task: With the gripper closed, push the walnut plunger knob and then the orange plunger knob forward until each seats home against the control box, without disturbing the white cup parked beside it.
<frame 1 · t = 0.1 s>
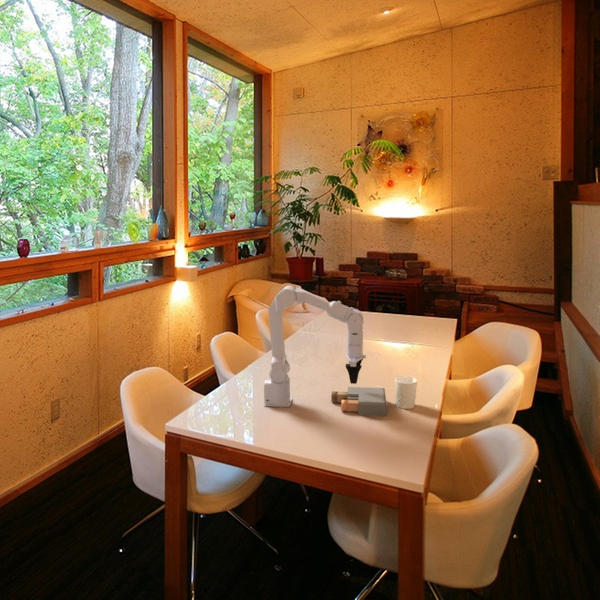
hand: (354, 379, 189), 10 cm above the table, fingers open, 7 cm apart
white cup: (405, 406, 190), on the table
orange knob: (357, 405, 185), point 2 cm above the table, slide at 0.0 cm
walnut knob: (346, 397, 193), point 2 cm above the table, slide at 0.0 cm
control box: (350, 406, 189), on the table
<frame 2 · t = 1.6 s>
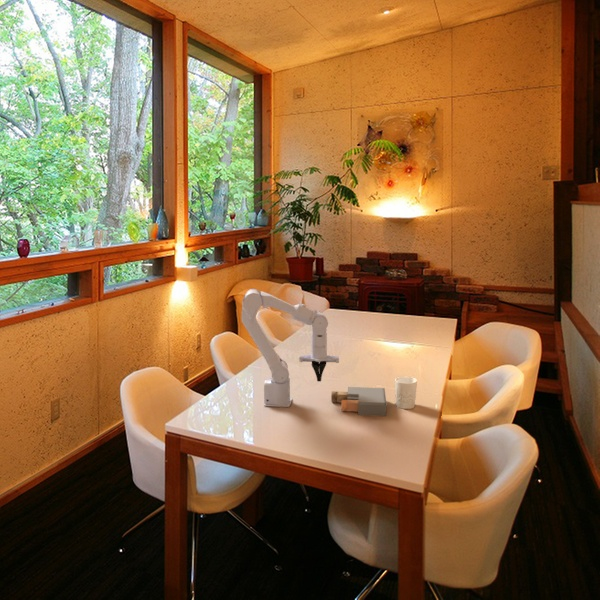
hand: (319, 380, 193), 8 cm above the table, fingers closed
nothing on the table moved.
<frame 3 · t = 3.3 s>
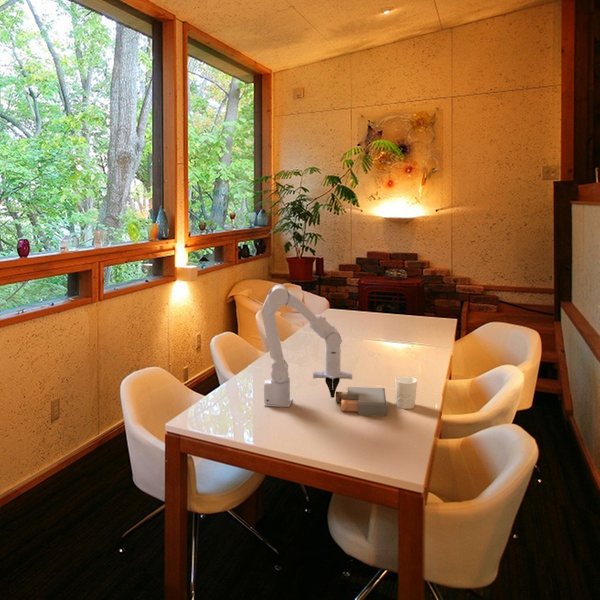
hand: (332, 396, 194), 2 cm above the table, fingers closed
walnut knob: (350, 397, 193), point 2 cm above the table, slide at 1.6 cm, touching gripper
everything else where it was.
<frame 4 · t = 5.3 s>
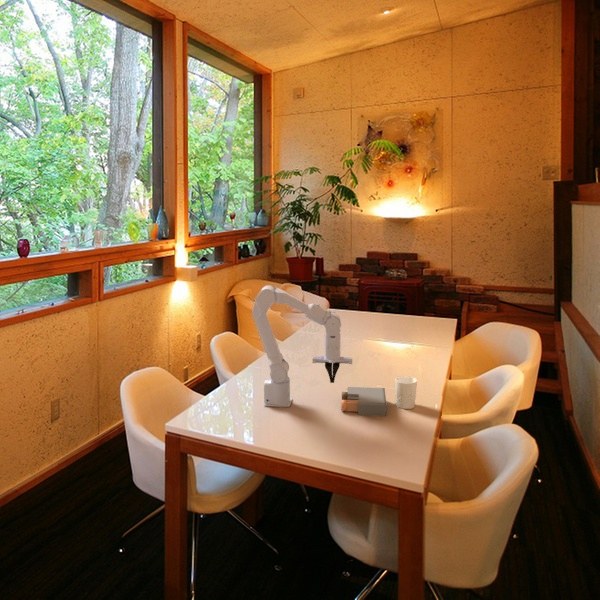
hand: (332, 381, 191), 8 cm above the table, fingers closed
walnut knob: (356, 397, 193), point 2 cm above the table, slide at 3.8 cm
everything else where it was.
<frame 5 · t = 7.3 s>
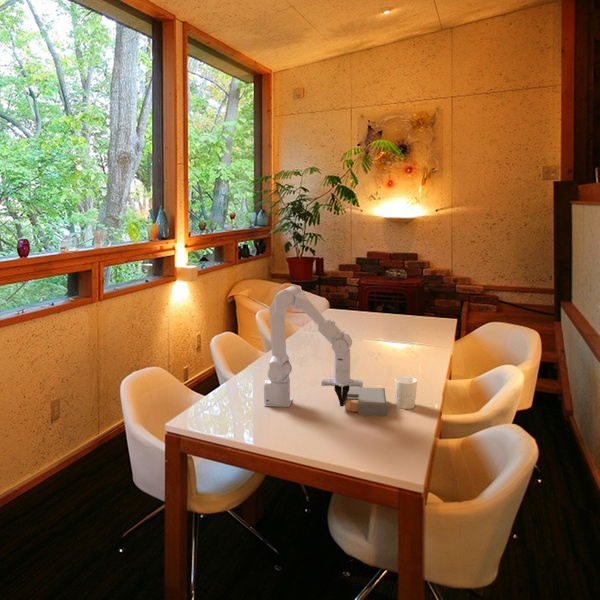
hand: (341, 405, 186), 2 cm above the table, fingers closed
orange knob: (360, 405, 185), point 2 cm above the table, slide at 1.4 cm, touching gripper
everything else where it was.
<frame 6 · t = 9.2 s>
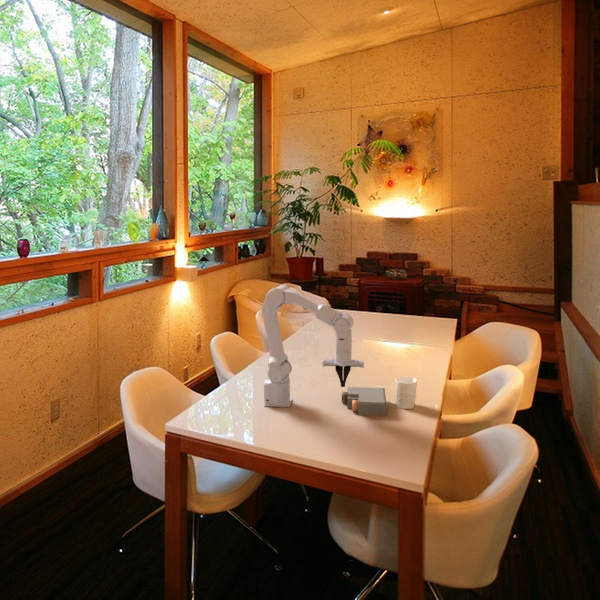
hand: (343, 386, 184), 9 cm above the table, fingers closed
orange knob: (367, 406, 184), point 2 cm above the table, slide at 3.8 cm
everything else where it was.
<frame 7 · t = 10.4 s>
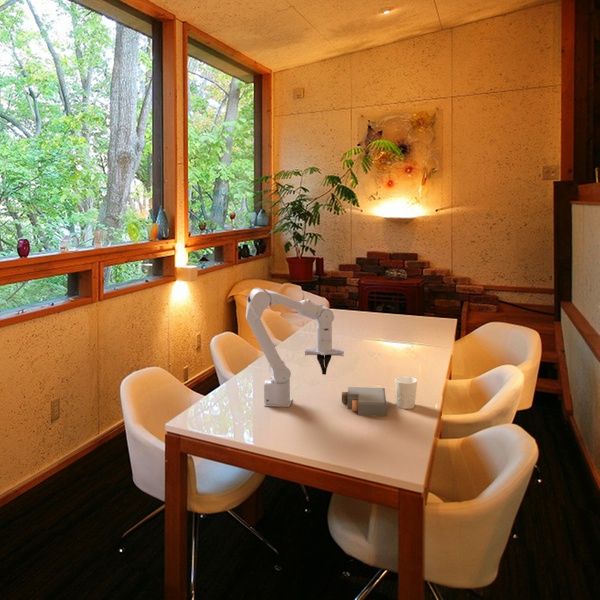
hand: (324, 373, 196), 10 cm above the table, fingers closed
nothing on the table moved.
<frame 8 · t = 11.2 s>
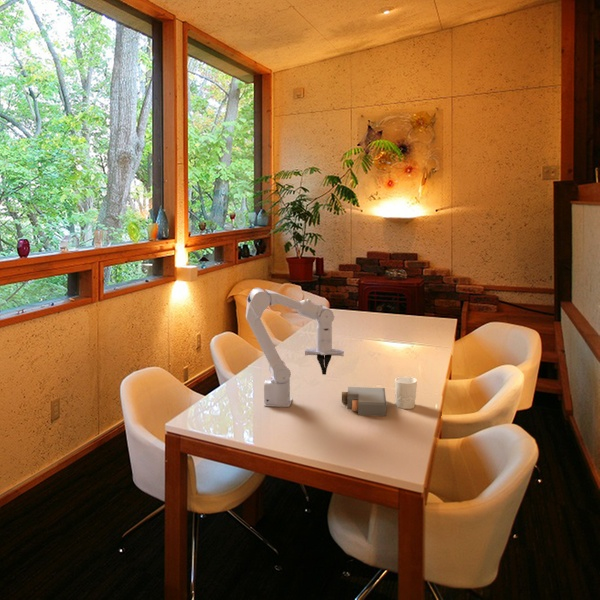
hand: (324, 373, 196), 10 cm above the table, fingers closed
nothing on the table moved.
at the end: walnut knob slide at 3.8 cm; orange knob slide at 3.8 cm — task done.
